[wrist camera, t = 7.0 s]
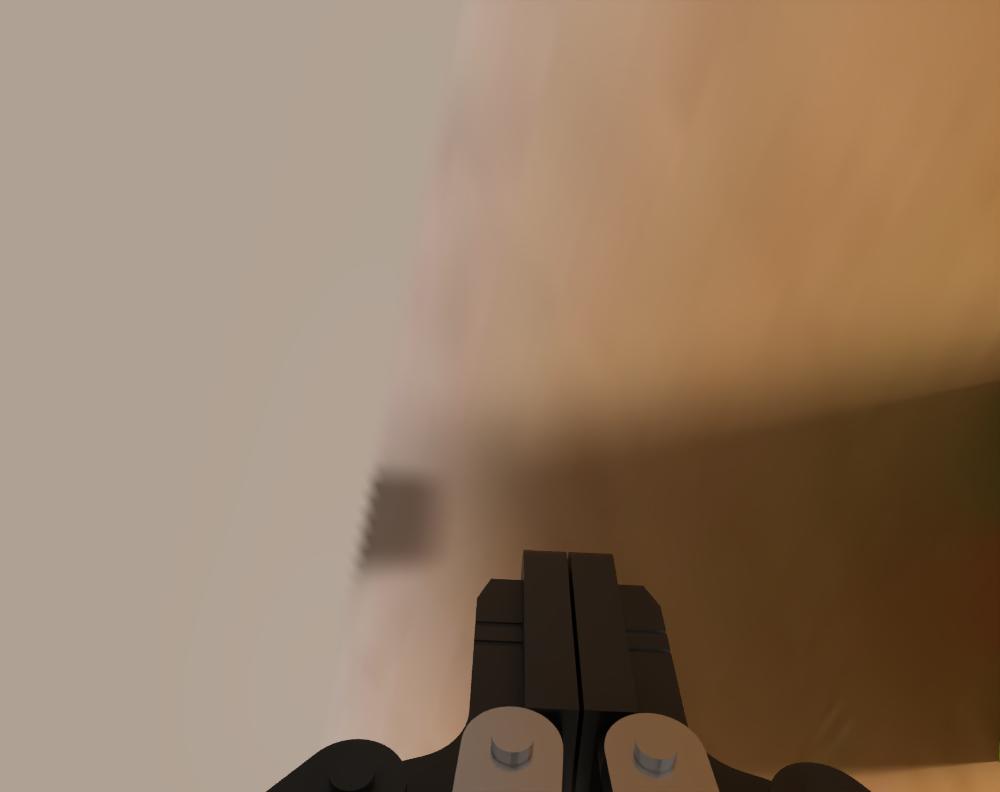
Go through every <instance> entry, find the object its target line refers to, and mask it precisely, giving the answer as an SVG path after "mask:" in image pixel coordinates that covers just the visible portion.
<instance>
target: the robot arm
mask: <svg viewBox="0 0 1000 792" xmlns="http://www.w3.org/2000/svg"><path fill="white" fill-rule="evenodd" d="M665 631H666V629H665V625H664V621H663V616H662V612H661V607H660V606H659V605H658V603H657V602H656V601H655V600H654V598H653V597H652V596H651V595H650V594H649V592H648V591H647V590H646V589H645V587H644V586H634V585H618V583H617V577H616V571H615V565H614V559H613V555H612V554H598V553H577V552H569V554H568V559H567V555H566V552H552V551H532V550H523V557H522V572H521V580H505V579H491V580H490V581H489V583H488V584H487V585H486V587H485V588H484V589H483V591H482V592H481V594H480V595H479V596H478V598H477V608H476V624H475V637H474V652H473V666H472V680H471V695H470V709H469V717H468V720H467V723H466V726H465V727H464V729H463V731H462V732H461V734H460V735H459V736H458V737H457V738H456V739H455V740H454V741H453V742H452V743H450V744H449V745H448V746H446V747H444V748H443V749H441V750H439V751H437V752H434V753H432V754H429V755H425V756H422V757H417V758H413V759H409V760H405V761H401V759H400V758H399V757H398V755H397V754H396V753H395V752H394V751H393V750H391V749H390V748H388V747H387V746H385V745H383V744H380V743H378V742H375V741H370V740H363V739H352V740H345V741H340V742H337V743H334V744H332V745H329V746H327V747H325V748H323V749H322V750H320V751H319V752H317V753H316V754H315V755H313V756H312V757H311V758H309V759H308V760H307V761H306V762H304V763H303V764H302V765H300V766H299V767H298V768H296V769H295V770H294V771H292V772H291V773H290V774H289V775H288V776H286V777H285V778H283V779H282V780H281V781H279V782H278V783H277V784H276V785H274V786H273V787H272V788H270V789H269V790H268V791H267V792H871V791H870V790H868V789H867V788H866V787H864V786H863V785H862V784H860V783H859V782H858V781H856V780H855V779H853V778H852V777H851V776H849V775H847V774H846V773H844V772H842V771H840V770H838V769H835V768H833V767H830V766H826V765H823V764H818V763H796V764H792V765H789V766H786V767H785V768H783V769H781V770H780V771H779V772H778V773H777V774H776V775H775V776H774V778H773V780H772V781H770V780H767V779H764V778H761V777H757V776H754V775H751V774H748V773H745V772H742V771H739V770H736V769H734V768H731V767H729V766H727V765H725V764H723V763H721V762H719V761H718V760H716V759H715V758H713V757H712V756H710V755H709V754H708V753H707V752H706V750H705V748H704V746H703V744H702V742H701V741H700V739H699V738H698V737H697V736H696V734H695V733H694V732H693V731H692V730H690V729H689V728H688V725H687V722H686V718H685V713H684V709H683V705H682V700H681V696H680V691H679V687H678V682H677V678H676V674H675V669H674V665H673V660H672V656H671V654H670V647H669V643H668V638H667V634H666V633H665Z"/></svg>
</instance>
